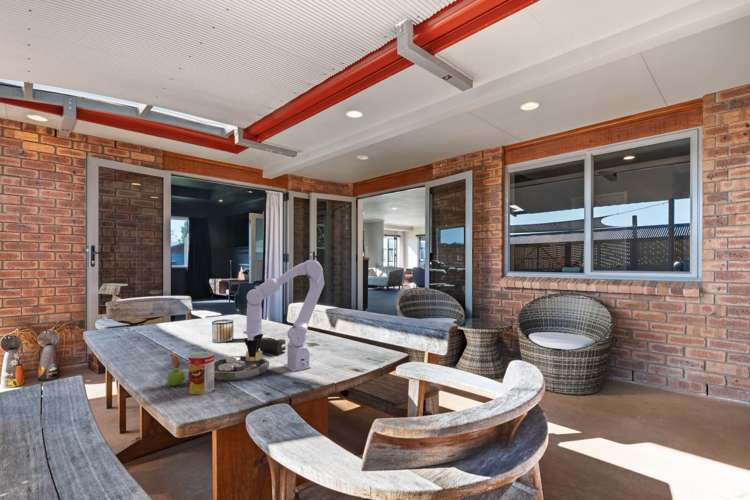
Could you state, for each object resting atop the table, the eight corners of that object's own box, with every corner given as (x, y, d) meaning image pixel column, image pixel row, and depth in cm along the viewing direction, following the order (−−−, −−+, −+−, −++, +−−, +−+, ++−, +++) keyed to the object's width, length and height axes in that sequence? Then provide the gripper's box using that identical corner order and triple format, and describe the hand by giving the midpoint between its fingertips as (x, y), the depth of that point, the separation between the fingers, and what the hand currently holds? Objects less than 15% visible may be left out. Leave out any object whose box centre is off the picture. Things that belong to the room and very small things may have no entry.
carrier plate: (275, 373, 140) (276, 361, 140) (215, 385, 126) (215, 372, 126) (255, 360, 157) (255, 350, 157) (200, 369, 143) (200, 358, 144)
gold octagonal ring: (263, 359, 143) (263, 351, 143) (251, 361, 138) (251, 353, 139) (255, 357, 146) (256, 349, 146) (243, 359, 142) (243, 351, 142)
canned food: (196, 385, 126) (196, 351, 126) (218, 386, 125) (218, 351, 125) (182, 394, 118) (183, 357, 118) (206, 395, 117) (206, 357, 118)
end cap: (258, 354, 166) (258, 339, 166) (268, 351, 173) (268, 336, 173) (277, 356, 163) (277, 341, 163) (286, 353, 169) (286, 338, 169)
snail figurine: (179, 380, 131) (179, 347, 131) (187, 384, 127) (187, 350, 127) (163, 385, 126) (163, 350, 127) (170, 389, 122) (171, 353, 123)
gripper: (247, 317, 149) (247, 350, 149) (239, 323, 135) (238, 360, 135) (265, 316, 150) (264, 349, 150) (258, 323, 136) (258, 359, 136)
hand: (253, 354), depth 142 cm, fingers closed on gold octagonal ring, 5 cm apart
